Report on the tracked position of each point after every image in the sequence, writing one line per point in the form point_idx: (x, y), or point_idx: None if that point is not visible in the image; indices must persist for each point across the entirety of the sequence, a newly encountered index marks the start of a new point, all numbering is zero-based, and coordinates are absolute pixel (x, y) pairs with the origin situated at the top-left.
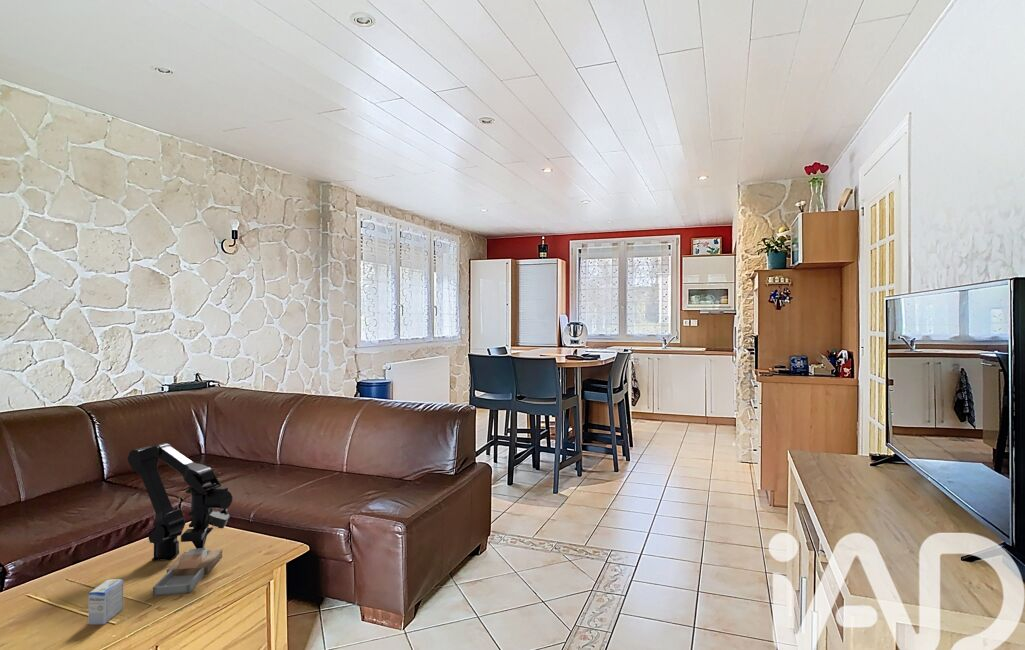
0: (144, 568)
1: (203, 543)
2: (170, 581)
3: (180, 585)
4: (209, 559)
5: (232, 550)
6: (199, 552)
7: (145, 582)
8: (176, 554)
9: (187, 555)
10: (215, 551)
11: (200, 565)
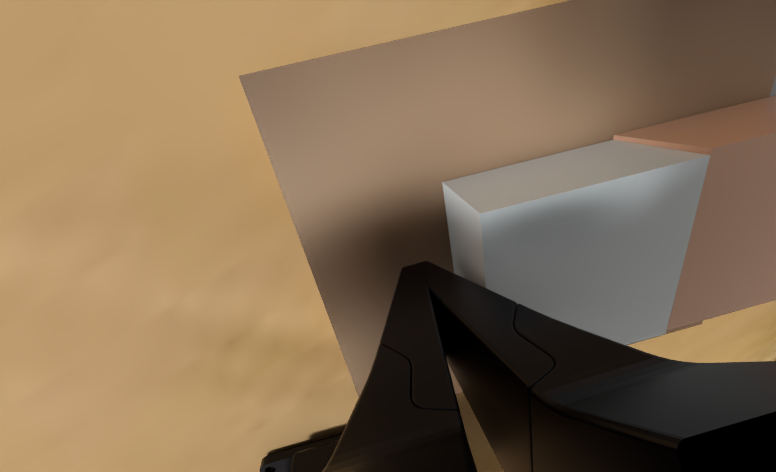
0: (492, 456)
1: (500, 308)
2: None
3: None
4: (572, 70)
5: (35, 57)
6: (647, 214)
7: (673, 350)
8: (334, 444)
9: (696, 297)
10: (318, 144)
11: (722, 83)
